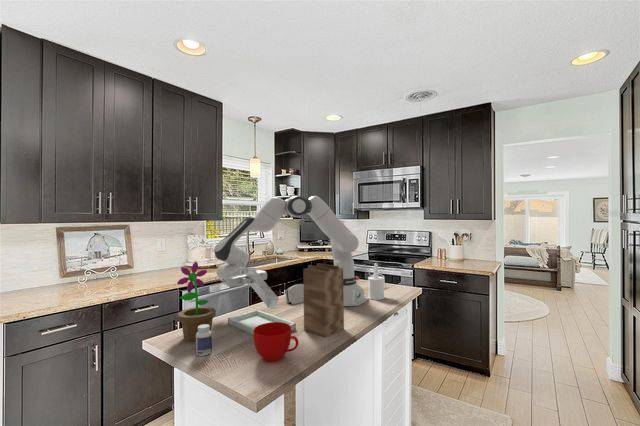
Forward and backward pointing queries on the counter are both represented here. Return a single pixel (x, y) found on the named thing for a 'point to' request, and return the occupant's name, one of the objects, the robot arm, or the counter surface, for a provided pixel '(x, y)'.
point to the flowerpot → (197, 314)
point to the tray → (255, 321)
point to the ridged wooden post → (323, 299)
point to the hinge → (295, 294)
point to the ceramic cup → (273, 340)
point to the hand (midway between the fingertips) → (256, 280)
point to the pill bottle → (203, 340)
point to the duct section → (262, 289)
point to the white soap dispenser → (376, 285)
